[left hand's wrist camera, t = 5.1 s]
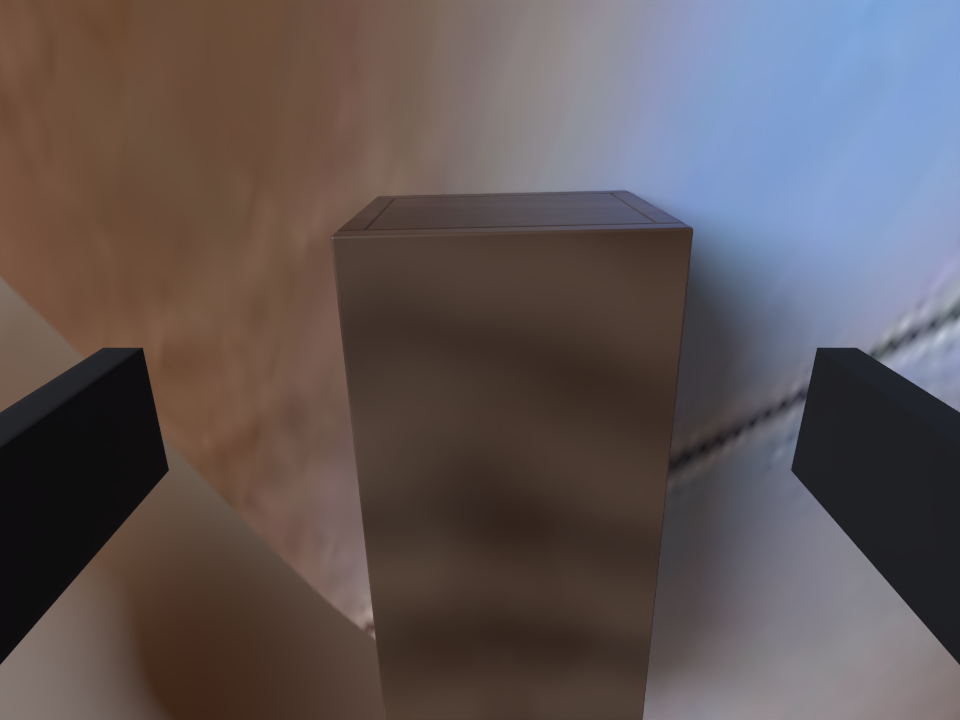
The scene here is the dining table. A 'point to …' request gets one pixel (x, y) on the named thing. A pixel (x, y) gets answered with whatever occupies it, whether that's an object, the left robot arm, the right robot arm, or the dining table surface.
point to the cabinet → (512, 444)
